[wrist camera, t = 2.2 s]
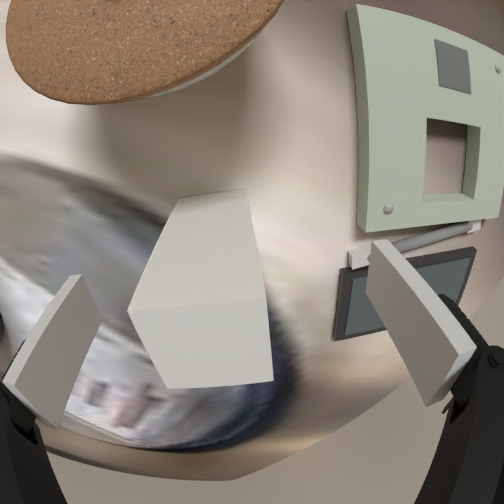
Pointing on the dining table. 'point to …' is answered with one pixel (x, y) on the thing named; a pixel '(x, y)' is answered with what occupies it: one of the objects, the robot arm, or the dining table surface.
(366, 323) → the phone
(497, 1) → the dining table surface
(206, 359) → the block
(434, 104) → the outlet plate
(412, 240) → the grey pen
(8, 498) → the robot arm
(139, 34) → the lidded jar
